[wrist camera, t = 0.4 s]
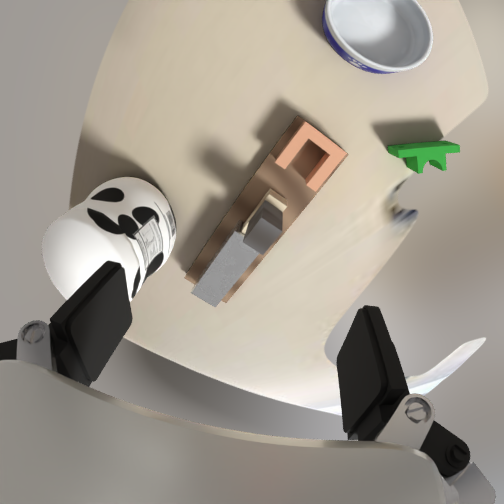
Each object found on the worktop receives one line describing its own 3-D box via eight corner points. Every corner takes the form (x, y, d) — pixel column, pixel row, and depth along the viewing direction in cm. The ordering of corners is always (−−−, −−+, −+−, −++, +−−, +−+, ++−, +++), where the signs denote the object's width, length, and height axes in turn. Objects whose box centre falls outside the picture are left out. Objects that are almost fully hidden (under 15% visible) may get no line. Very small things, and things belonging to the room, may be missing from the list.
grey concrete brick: (218, 294, 51) (213, 309, 47) (196, 280, 50) (189, 294, 46) (264, 236, 44) (262, 249, 41) (239, 219, 43) (235, 231, 40)
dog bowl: (313, 57, 32) (317, 48, 26) (328, -22, 24) (333, -38, 19) (408, 89, 32) (426, 88, 26) (419, 12, 24) (436, 2, 19)
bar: (218, 287, 50) (206, 323, 42) (204, 278, 49) (189, 313, 41) (286, 199, 41) (287, 225, 32) (270, 188, 40) (266, 210, 32)
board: (227, 298, 53) (226, 303, 52) (186, 273, 51) (184, 278, 50) (346, 152, 38) (348, 154, 37) (297, 115, 36) (297, 115, 35)
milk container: (87, 218, 48) (28, 265, 32) (128, 151, 41) (56, 181, 25) (149, 276, 53) (107, 339, 37) (202, 219, 46) (161, 281, 30)
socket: (313, 186, 40) (315, 191, 37) (275, 158, 38) (274, 162, 36) (342, 150, 36) (346, 153, 34) (304, 120, 35) (305, 121, 32)
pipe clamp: (389, 168, 38) (400, 176, 34) (386, 145, 37) (397, 150, 33) (447, 162, 36) (461, 169, 32) (445, 140, 34) (460, 145, 30)
